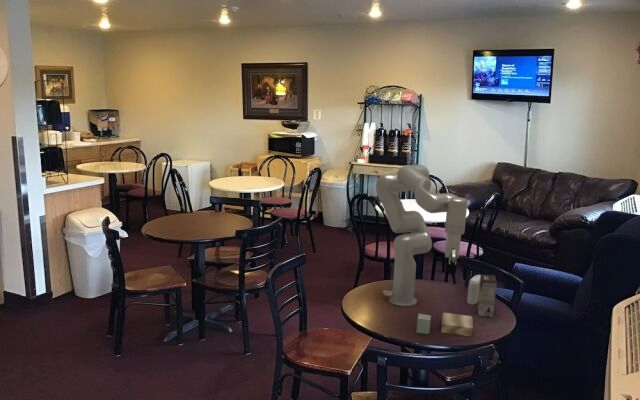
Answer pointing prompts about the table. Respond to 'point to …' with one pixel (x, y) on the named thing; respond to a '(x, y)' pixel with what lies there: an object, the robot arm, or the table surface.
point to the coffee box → (486, 295)
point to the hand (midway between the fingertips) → (450, 270)
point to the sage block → (423, 323)
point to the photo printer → (473, 290)
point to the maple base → (457, 324)
